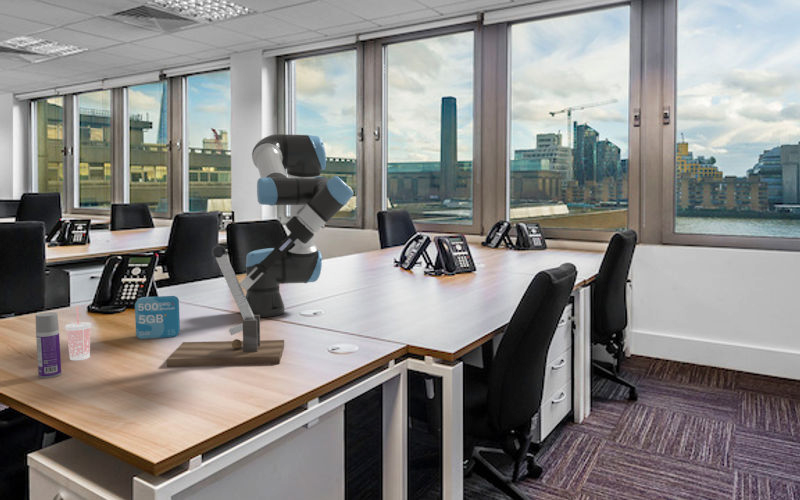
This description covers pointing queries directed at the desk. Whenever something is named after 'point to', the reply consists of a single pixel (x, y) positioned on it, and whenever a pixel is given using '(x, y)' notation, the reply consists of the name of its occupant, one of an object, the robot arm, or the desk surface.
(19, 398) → the desk surface
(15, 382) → the desk surface
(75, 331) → the beverage cup
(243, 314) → the lever
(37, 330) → the container
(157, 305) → the data package
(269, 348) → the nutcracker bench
